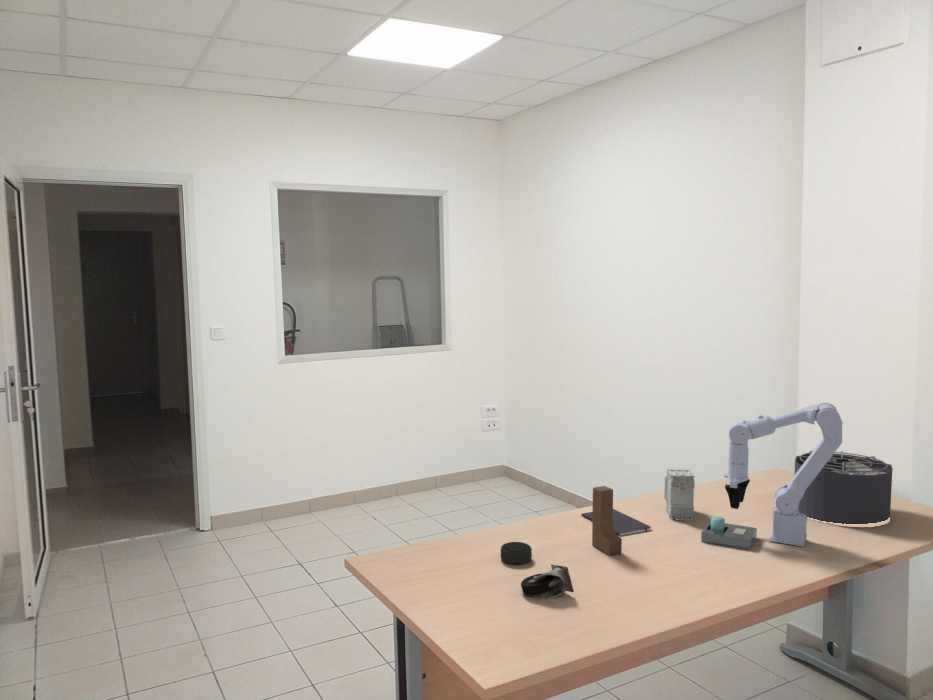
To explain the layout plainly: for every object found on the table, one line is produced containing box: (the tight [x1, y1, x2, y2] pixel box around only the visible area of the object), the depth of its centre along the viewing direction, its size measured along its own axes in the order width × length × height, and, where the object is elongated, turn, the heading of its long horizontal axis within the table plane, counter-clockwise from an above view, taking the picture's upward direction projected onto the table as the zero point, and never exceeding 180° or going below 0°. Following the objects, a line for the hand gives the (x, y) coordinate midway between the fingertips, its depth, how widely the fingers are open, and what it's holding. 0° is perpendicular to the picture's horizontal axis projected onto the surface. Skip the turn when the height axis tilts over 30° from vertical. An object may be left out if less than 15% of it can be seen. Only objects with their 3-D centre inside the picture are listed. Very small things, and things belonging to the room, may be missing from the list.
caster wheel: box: [520, 564, 575, 600], centre depth 188 cm, size 7×11×10 cm
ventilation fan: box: [794, 450, 893, 524], centre depth 249 cm, size 30×18×30 cm
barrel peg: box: [710, 516, 726, 532], centre depth 227 cm, size 4×4×6 cm
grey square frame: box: [700, 520, 758, 550], centre depth 225 cm, size 14×12×3 cm
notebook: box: [581, 508, 652, 537], centre depth 241 cm, size 13×2×21 cm
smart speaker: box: [500, 541, 533, 565], centre depth 211 cm, size 9×9×4 cm
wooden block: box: [591, 485, 623, 556], centre depth 217 cm, size 9×4×18 cm, turn 24°
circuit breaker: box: [663, 468, 696, 521], centre depth 250 cm, size 8×14×15 cm, turn 174°
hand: (736, 505), depth 229 cm, fingers open, 7 cm apart
